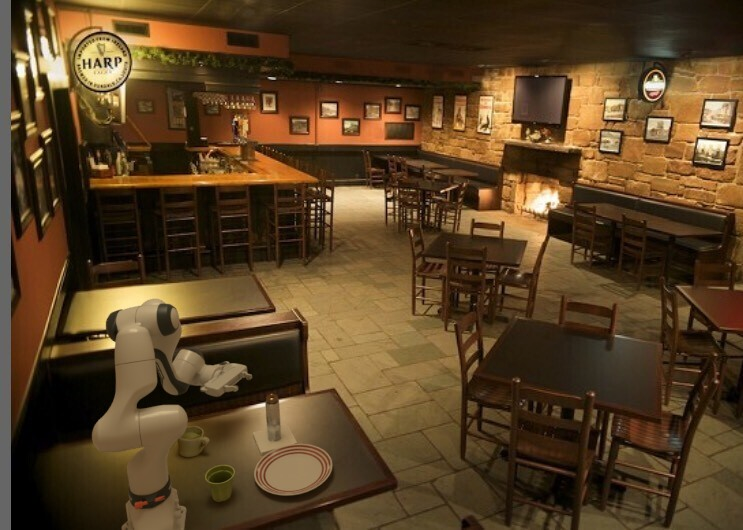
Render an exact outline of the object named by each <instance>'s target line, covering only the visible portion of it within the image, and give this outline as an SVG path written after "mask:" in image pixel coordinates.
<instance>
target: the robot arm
mask: <svg viewBox="0 0 743 530" xmlns="http://www.w3.org/2000/svg"><path fill="white" fill-rule="evenodd" d="M182 329H183V328H182V324H181V321H180V315H179V312H178V309H177V308H176V307H175V306H174V305H173V304H170V303H166V302H164V301H163V300H162V299H160V298H150V299H147V300H146V301H145V300H144V301H143V303H142V304H141V305H137V306H132V307H131V306H130V307H128V308H124V309H118V310H114V311H112V312H110V314H108V316H107V318H106V320H105V330H106V331H105V332H106V334H107V336H108V338H109V339H110V340H111V341H113V342H114V344H115V345H114V365H115V366H114V367H115V369H114V370H115V394H114V398H113V401H112V403H111V405H110V406H109V408H108V410H107V411H106V412H105V413H104V415H103V416H102V417H100V419H98V421H97V422H96V423H95V424H94V426H93V429H92V432H91V440H92V443H93V446H94V447H95V448H96V449H97V450H98V451H99V452H100V453H120V452H121V453H122V452H125V451H130V450H134V449H140V448H141V449H140V450H138V451H137V452H136V453H134V455H133V456H132V457H131V458H130V459H129V461H128V463H127V466H126V472H127V480H128V492H127V493H128V498H129V500H128V501H127V502H126V503H125V509H126V516H127V517H126V518H127V521H126V522H124V524H122V525H121V530H185V529H186V528H185V526H186V517H187V511H188V510H187V508H186V506H184V505H180V499H179V496H178V490H177V489H176V488H174V487H173V486H172V479H171V477H170V474H169V469H168V468H169V467H168V457H169V452H170V450H171V448H172V447H173V446H174V444H175V443H176V442H178V439H179V438H180V437H181V436H182V435H183V434H184V433H185V431H186V428H187V427H188V421H189V419H188V415H187V412H186V411H185V409H184V408H183V407H182V406H181V405H179V404H162V405H155V406H151V407H147V408H146V407H145V408H137V404H138V403H139V401H140V400H141V399H143V398H145V397H146V396H147V395H149V394H150V393H152V392H153V391H154V390H155V389H156V387H157V384H158V376H159V378H160V383H161V387H162V388H163V390H164V391H165V392H166V393H168V394H170V395H171V396H180V395H182V394H185V393H187V391H189V390H188V389H189V388H190V386H198V387H199V386H200V387H199V391H200V392H202V393H205V394H206V395H209V396H211V397H216V398H218V397H221V396H222V395H223V394H224V393H230V392H237V391H239V386H238V385H236V384H237V383H238V382H239V381H240V380H242V379H245V378H246V379H245V380H247V381H250V380H251V379H252V378H253V375H252V374H250V373H248V366H247V365H244V364H241V363H236V362H235V363H230V362H229V361H223V362H221V363H218V364H214V365H211V364H206V360H205V357H204V355H203V353H202V352H201V351H200V350H199V349H196V348H193V347H184V348H181V349H180V350H179V352H178V353H177V354H176V356H175V358H174V360H173V356H174V354H175V350H176V348H177V346H178V343H179V342H180V340H181V337H182V332H183V330H182ZM157 373H158V374H157Z"/></svg>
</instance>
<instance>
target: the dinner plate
mask: <svg viewBox="0 0 743 530" xmlns="http://www.w3.org/2000/svg"><path fill="white" fill-rule="evenodd" d="M332 471H333V460H332V457H331V455H329V453H328V452H327V451H326V450H325V449H323V448H321V447H318V446H317V445H314V444H308V443H297V444H292V445H286V446H282V447H279V448H277V449H275V450H273V451H271V452H269V453H267V454H265V455H263V457H261V458H260V460H258V462H257V463H256V465H255V468H254V471H253V476H254V477H253V478H254V481H255V483H256V484H257V485H258V487H260V488H261V489H262V490H263V491H265V492H267V493H269V494H272V495H277V496H282V497H283V496H285V497H287V496H297V495H302V494H306V493H308V492H310V491H313V490H315V489H316V488H318V487H319V486H321V485H323V483H324V482H326V481H327V480H328V478H329V477H330V476H331V474H332Z"/></svg>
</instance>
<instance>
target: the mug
mask: <svg viewBox="0 0 743 530" xmlns="http://www.w3.org/2000/svg"><path fill="white" fill-rule="evenodd" d="M210 442H211V441H210V439H209V437H207V436H205V431H204V429H203V428H202V427H200V426H199V425H198V426H197V425H189V426H188V425H187V428H186V431H185V433H184V434H183V435H182V436H181V437H180V438H179V439H178V440H177V444H178V445H177V447H178V453H179V455H180V456H182V457H184V458H192V457H196V456H198V455H200V454H201V453H202V452H203V450H204V448H205V447H206V446H207V445H208V444H209V443H210Z"/></svg>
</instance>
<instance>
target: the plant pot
mask: <svg viewBox="0 0 743 530" xmlns="http://www.w3.org/2000/svg"><path fill="white" fill-rule="evenodd" d="M235 472H236V471H235V469H234V467H233V466H231V465H229V464H220V465H216V466H213V467H211V468H209V469H208V470H207V471H206V473H205V475H204V477H205V478H204V479H205V481H206V482H207V484H208V486H209V490H210V494H211V497H212V500H213V501H215V502H217V503H221V502H225V501H227V500H229V499H230V498H231V496H232V489H233V479H234V476H235Z"/></svg>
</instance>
